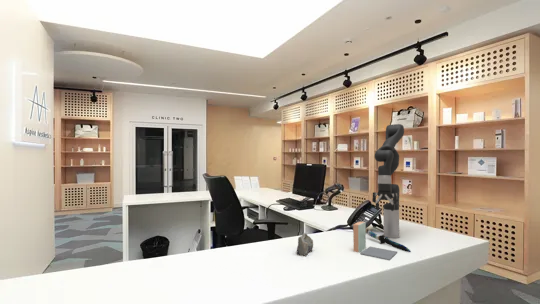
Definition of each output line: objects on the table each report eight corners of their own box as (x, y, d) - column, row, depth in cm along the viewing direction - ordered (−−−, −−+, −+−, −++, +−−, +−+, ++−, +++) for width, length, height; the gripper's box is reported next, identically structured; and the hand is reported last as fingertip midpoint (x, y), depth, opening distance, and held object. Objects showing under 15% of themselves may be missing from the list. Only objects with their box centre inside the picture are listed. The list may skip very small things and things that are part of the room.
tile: (360, 246, 151) (360, 221, 151) (365, 248, 149) (365, 222, 150) (353, 251, 143) (353, 224, 144) (359, 252, 141) (359, 225, 142)
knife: (365, 236, 168) (366, 229, 168) (369, 235, 169) (370, 228, 169) (406, 257, 140) (407, 248, 140) (411, 256, 141) (411, 248, 141)
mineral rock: (310, 247, 149) (310, 229, 149) (322, 253, 139) (322, 233, 139) (290, 251, 143) (290, 231, 143) (301, 257, 133) (301, 236, 134)
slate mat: (370, 247, 150) (370, 246, 150) (397, 252, 141) (397, 251, 141) (360, 254, 138) (360, 253, 138) (389, 260, 129) (389, 259, 129)
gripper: (399, 183, 162) (399, 211, 161) (375, 182, 172) (375, 208, 170) (394, 183, 157) (395, 211, 155) (370, 182, 166) (370, 209, 165)
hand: (385, 210), depth 163 cm, fingers open, 8 cm apart
